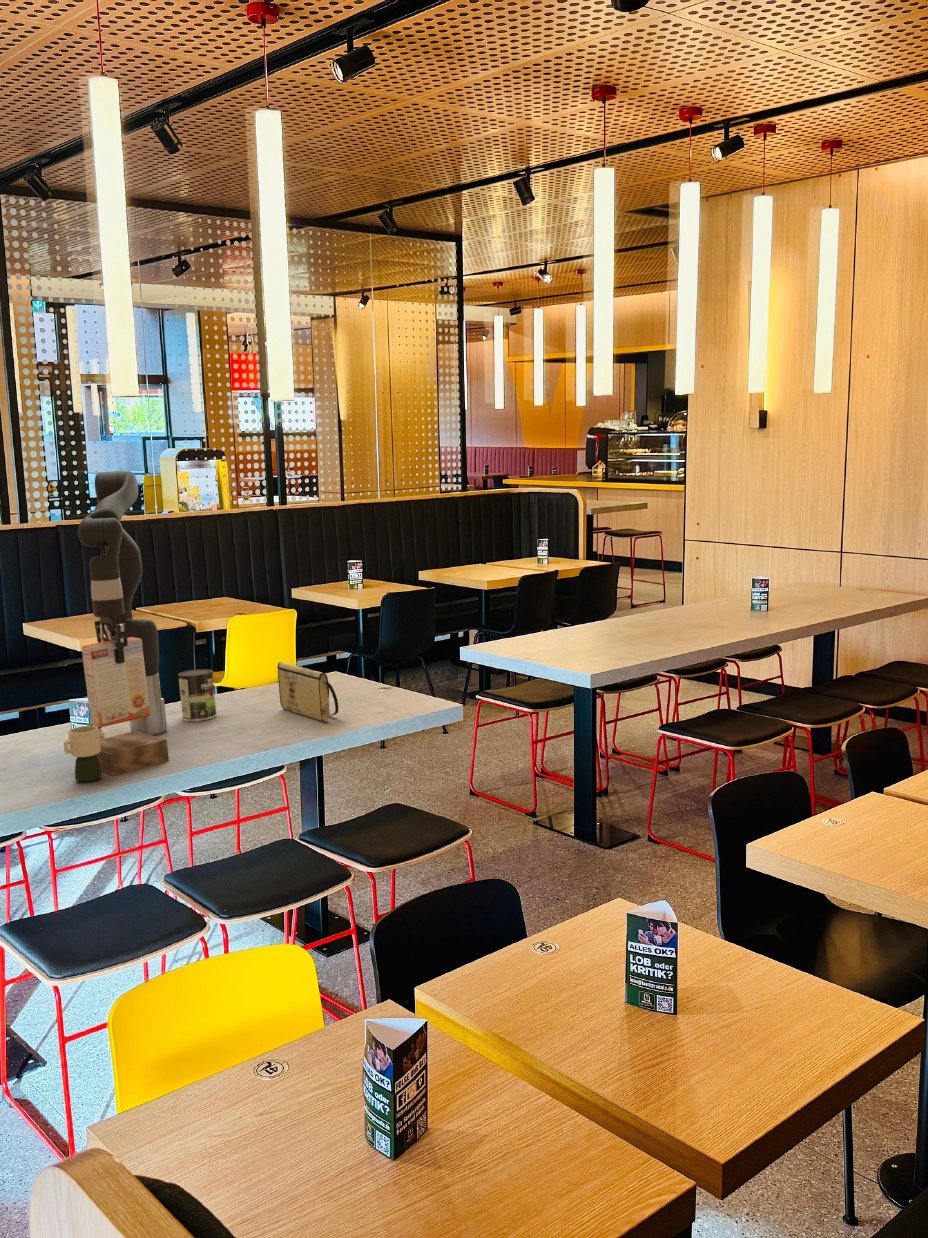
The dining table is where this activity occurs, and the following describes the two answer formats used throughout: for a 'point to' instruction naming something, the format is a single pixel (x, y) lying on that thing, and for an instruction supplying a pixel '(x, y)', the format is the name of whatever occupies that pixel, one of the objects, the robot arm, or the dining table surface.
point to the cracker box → (115, 683)
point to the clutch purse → (305, 691)
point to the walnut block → (131, 752)
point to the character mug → (85, 751)
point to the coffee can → (197, 695)
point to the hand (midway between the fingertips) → (114, 661)
